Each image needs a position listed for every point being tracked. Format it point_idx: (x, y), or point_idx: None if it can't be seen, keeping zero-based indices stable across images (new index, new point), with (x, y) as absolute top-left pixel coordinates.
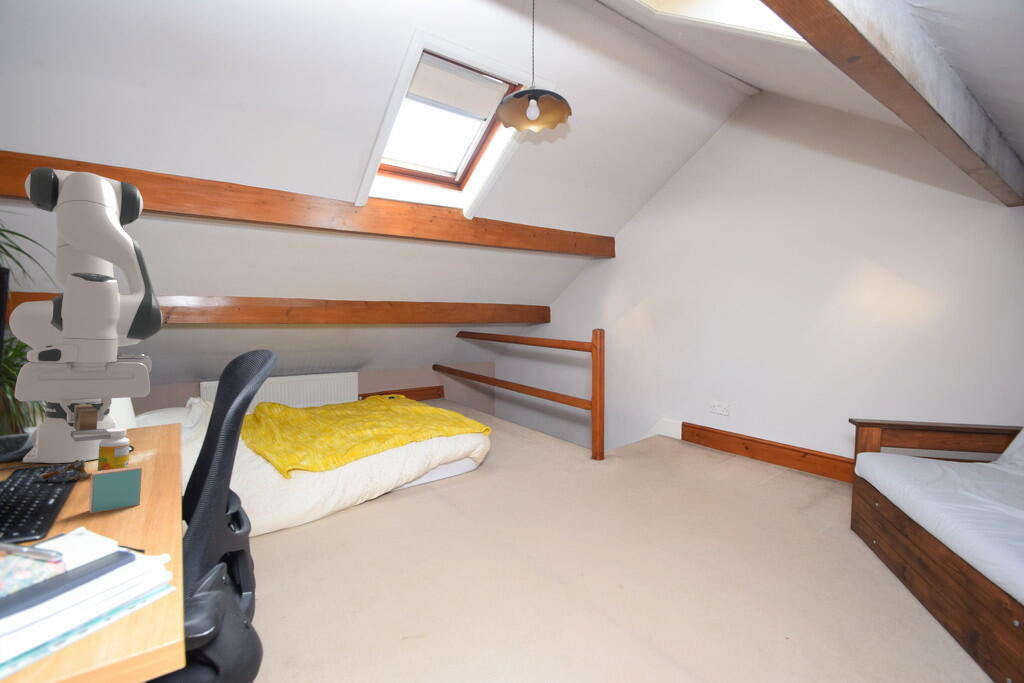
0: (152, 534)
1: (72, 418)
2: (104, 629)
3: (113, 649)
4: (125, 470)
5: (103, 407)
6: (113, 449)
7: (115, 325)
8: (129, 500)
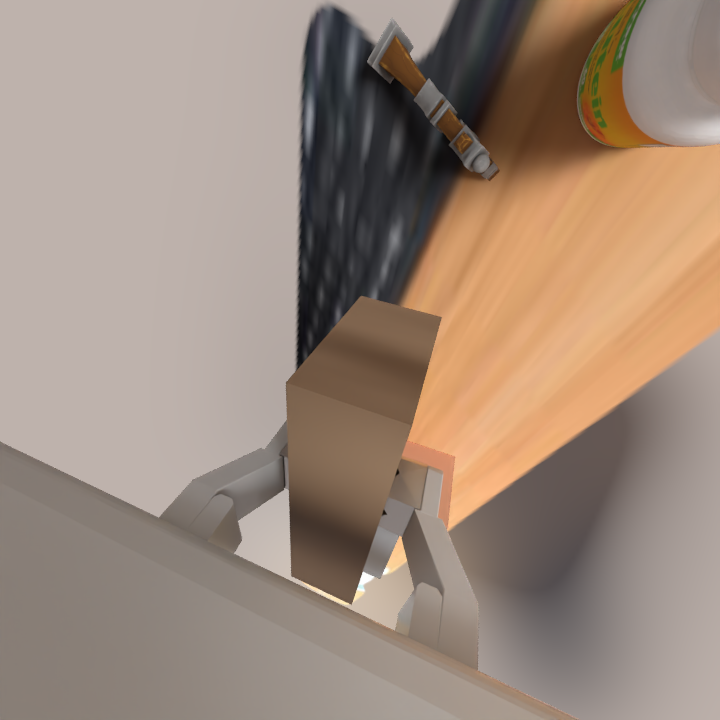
0: (401, 541)
1: None
2: None
3: (325, 592)
4: None
5: (412, 578)
6: (651, 140)
7: None
8: None
